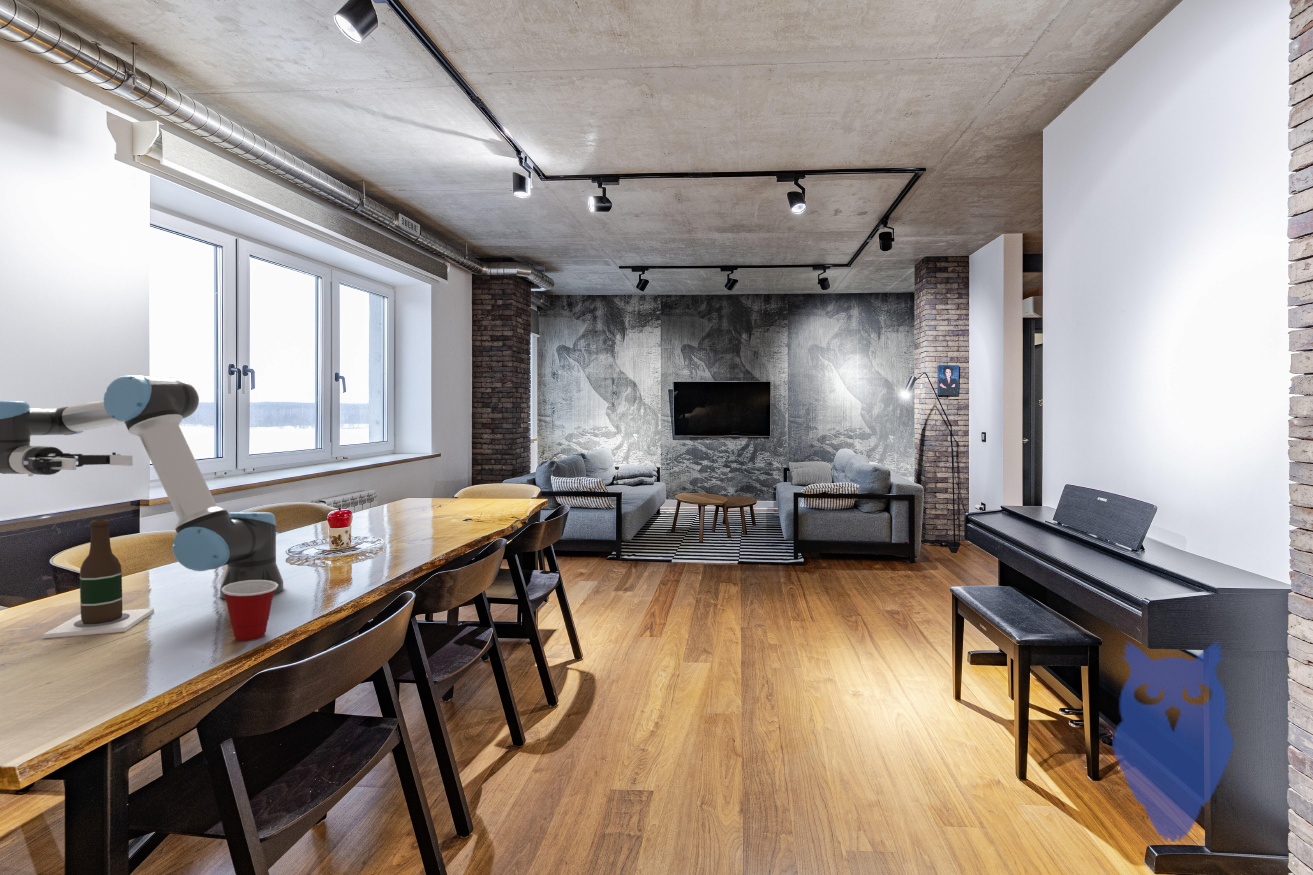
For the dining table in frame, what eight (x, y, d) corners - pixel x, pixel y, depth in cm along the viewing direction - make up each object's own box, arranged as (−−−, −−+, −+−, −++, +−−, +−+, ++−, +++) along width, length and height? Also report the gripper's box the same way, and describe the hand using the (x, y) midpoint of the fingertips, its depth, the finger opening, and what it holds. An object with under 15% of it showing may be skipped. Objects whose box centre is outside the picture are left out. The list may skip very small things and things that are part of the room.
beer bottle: (131, 616, 151) (129, 518, 150) (93, 626, 143) (90, 523, 143) (110, 612, 153) (108, 516, 153) (71, 622, 146) (69, 521, 145)
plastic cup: (251, 647, 135) (250, 593, 134) (209, 643, 137) (208, 589, 136) (290, 630, 145) (289, 580, 145) (251, 627, 148) (250, 577, 147)
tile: (154, 611, 158) (154, 607, 158) (125, 631, 144) (125, 626, 144) (81, 617, 153) (80, 612, 153) (43, 638, 139) (43, 633, 139)
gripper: (90, 470, 176) (152, 472, 171) (-21, 479, 151) (48, 481, 147) (90, 444, 175) (151, 445, 171) (-22, 448, 151) (47, 450, 147)
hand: (104, 462), depth 159 cm, fingers open, 13 cm apart
